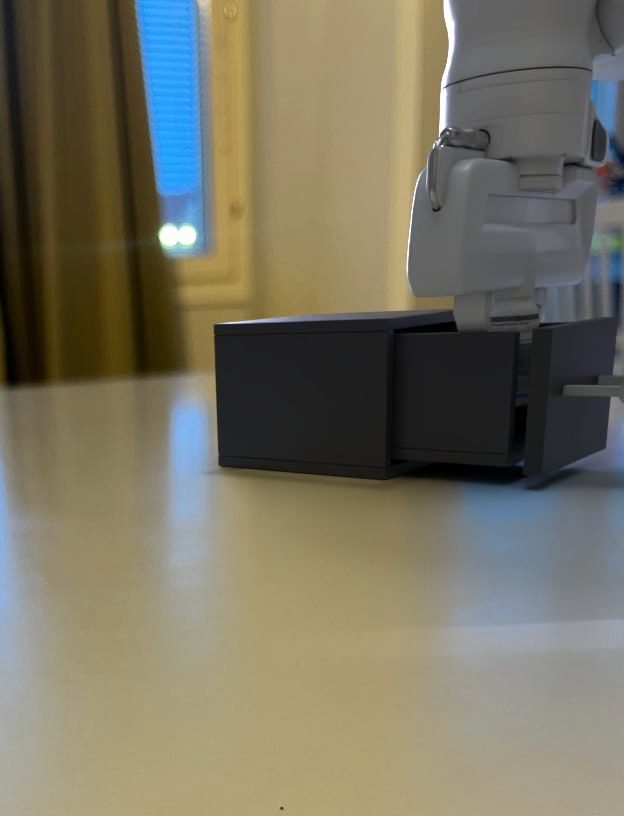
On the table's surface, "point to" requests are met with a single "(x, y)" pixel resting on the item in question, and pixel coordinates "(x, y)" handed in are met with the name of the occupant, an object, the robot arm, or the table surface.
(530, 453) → the drawer
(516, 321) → the pill bottle
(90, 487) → the table surface
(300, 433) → the cabinet
